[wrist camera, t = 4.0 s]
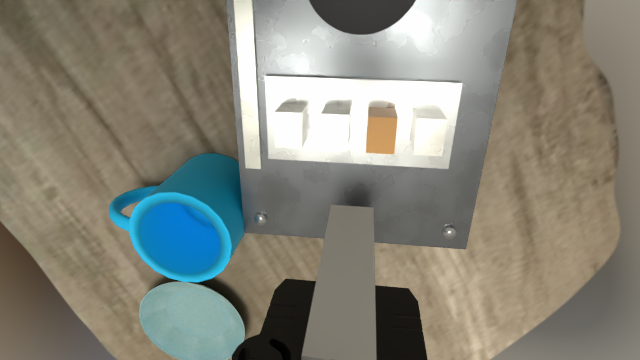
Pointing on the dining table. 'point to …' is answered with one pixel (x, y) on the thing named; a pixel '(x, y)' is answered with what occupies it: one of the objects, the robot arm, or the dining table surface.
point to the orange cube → (381, 130)
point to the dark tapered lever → (361, 14)
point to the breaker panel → (365, 116)
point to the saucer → (191, 321)
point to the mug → (187, 219)
